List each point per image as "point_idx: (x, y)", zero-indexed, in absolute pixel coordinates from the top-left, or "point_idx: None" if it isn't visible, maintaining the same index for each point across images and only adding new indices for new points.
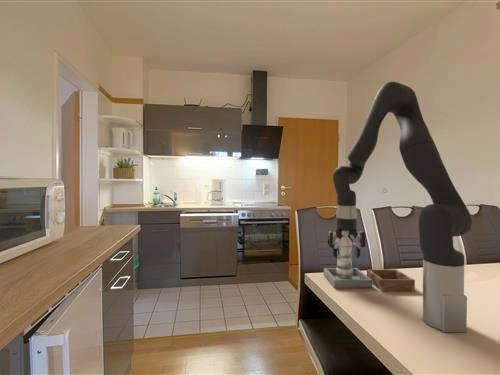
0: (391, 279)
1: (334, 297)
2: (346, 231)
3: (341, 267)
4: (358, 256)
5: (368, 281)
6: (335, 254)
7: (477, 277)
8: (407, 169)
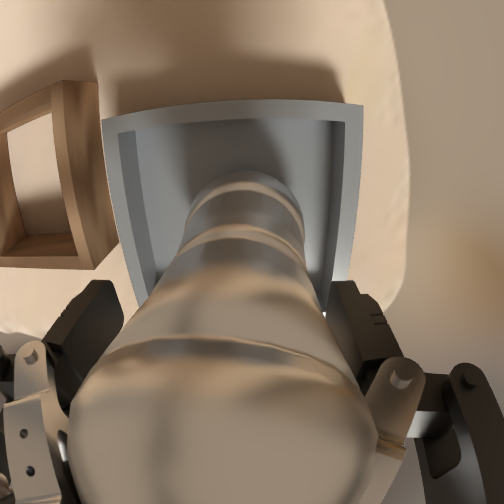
0: (20, 111)
1: (375, 8)
2: None
3: (285, 212)
4: (91, 286)
5: (125, 115)
6: (364, 304)
7: None
8: None
